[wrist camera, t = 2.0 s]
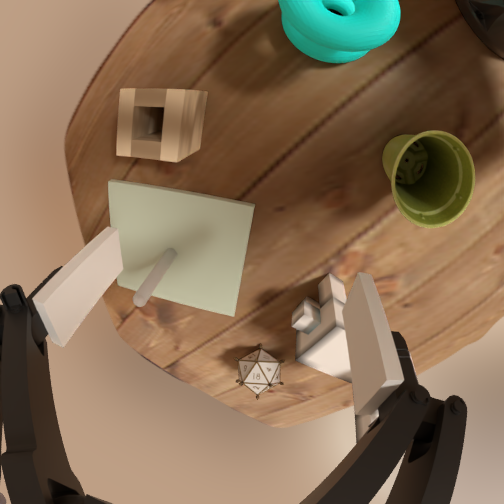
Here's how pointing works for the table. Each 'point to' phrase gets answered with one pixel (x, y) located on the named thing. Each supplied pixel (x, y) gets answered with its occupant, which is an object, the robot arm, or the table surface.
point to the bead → (160, 123)
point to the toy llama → (327, 338)
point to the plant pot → (430, 177)
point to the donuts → (339, 26)
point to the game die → (259, 371)
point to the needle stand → (180, 244)
